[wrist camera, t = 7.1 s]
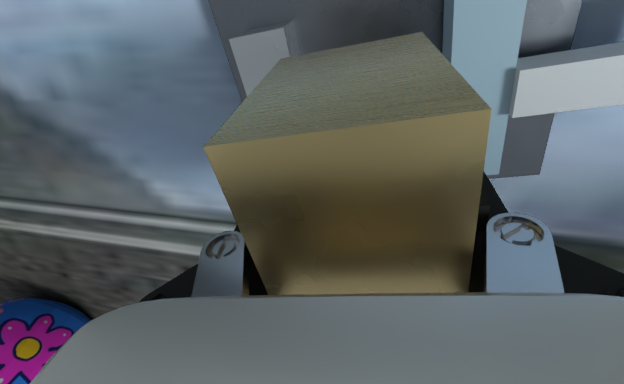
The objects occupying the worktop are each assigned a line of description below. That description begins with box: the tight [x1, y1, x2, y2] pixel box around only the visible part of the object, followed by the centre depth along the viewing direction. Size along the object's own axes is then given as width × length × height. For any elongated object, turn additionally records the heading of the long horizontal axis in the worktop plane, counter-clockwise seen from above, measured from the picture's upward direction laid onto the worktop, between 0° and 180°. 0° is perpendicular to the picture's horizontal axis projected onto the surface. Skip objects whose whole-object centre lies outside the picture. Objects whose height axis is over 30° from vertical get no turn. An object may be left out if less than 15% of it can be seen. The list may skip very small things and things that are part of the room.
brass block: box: [203, 32, 492, 295], centre depth 11 cm, size 5×9×7 cm, turn 11°
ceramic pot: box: [0, 298, 91, 384], centre depth 38 cm, size 18×18×15 cm
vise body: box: [209, 0, 582, 179], centre depth 19 cm, size 19×14×4 cm
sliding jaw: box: [442, 0, 624, 175], centre depth 15 cm, size 11×10×4 cm
